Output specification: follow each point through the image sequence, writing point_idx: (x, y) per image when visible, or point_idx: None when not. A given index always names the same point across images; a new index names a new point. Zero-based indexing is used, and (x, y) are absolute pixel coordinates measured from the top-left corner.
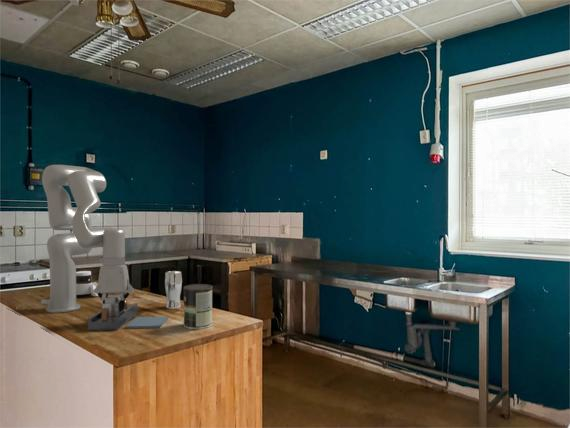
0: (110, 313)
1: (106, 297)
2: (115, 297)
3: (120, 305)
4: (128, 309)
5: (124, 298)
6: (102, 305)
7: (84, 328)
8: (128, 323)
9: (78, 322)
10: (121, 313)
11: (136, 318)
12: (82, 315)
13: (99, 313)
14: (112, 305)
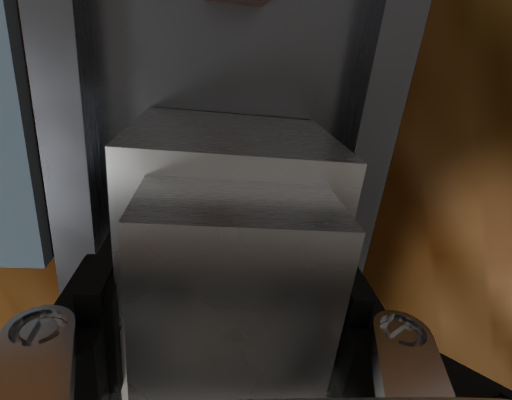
0: (221, 120)
1: (345, 304)
2: (142, 298)
3: (108, 247)
4: (65, 279)
5: (7, 349)
6: (356, 157)
7: (432, 8)
8: (9, 43)
9: (494, 203)
10: (65, 97)
11: (15, 221)
12: (480, 357)
13: (357, 134)
14: (186, 147)
